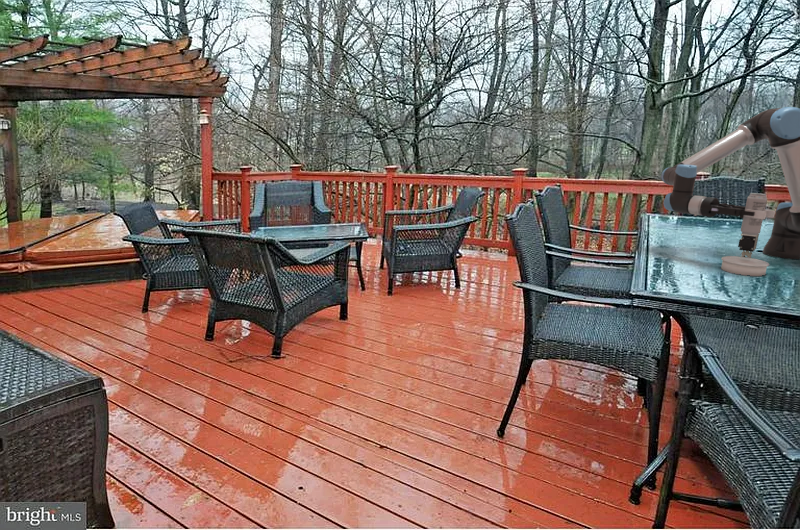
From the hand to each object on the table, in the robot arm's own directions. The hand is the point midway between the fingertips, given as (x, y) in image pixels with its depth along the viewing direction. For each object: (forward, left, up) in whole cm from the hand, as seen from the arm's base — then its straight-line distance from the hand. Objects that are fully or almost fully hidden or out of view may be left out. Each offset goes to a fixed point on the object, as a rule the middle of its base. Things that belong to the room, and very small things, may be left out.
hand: (769, 214), depth 181 cm
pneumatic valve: (-8, -24, -22) cm, 34 cm away
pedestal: (+3, -4, -22) cm, 23 cm away
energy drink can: (+3, -4, -8) cm, 10 cm away
